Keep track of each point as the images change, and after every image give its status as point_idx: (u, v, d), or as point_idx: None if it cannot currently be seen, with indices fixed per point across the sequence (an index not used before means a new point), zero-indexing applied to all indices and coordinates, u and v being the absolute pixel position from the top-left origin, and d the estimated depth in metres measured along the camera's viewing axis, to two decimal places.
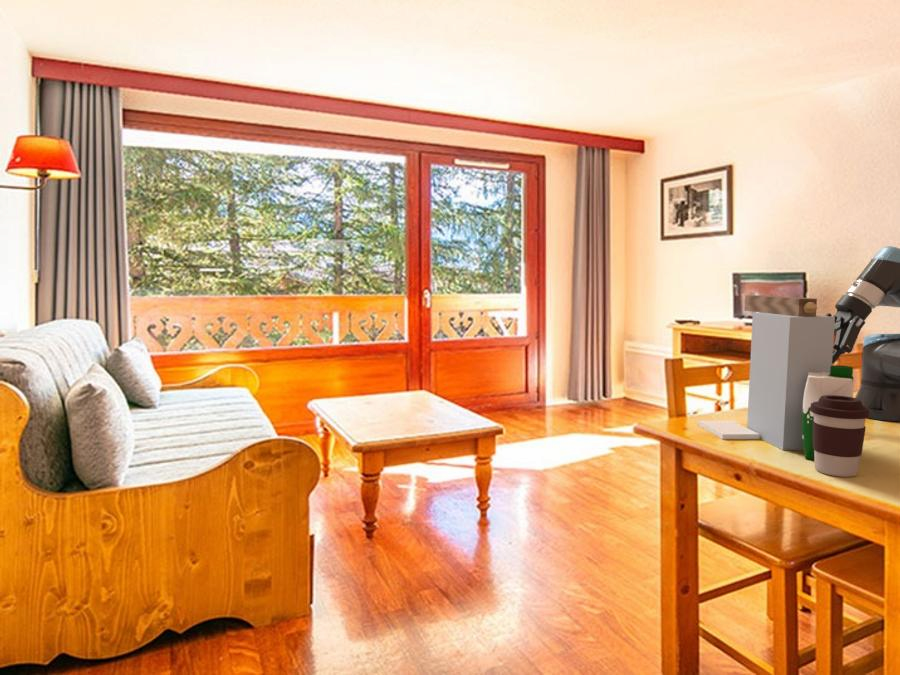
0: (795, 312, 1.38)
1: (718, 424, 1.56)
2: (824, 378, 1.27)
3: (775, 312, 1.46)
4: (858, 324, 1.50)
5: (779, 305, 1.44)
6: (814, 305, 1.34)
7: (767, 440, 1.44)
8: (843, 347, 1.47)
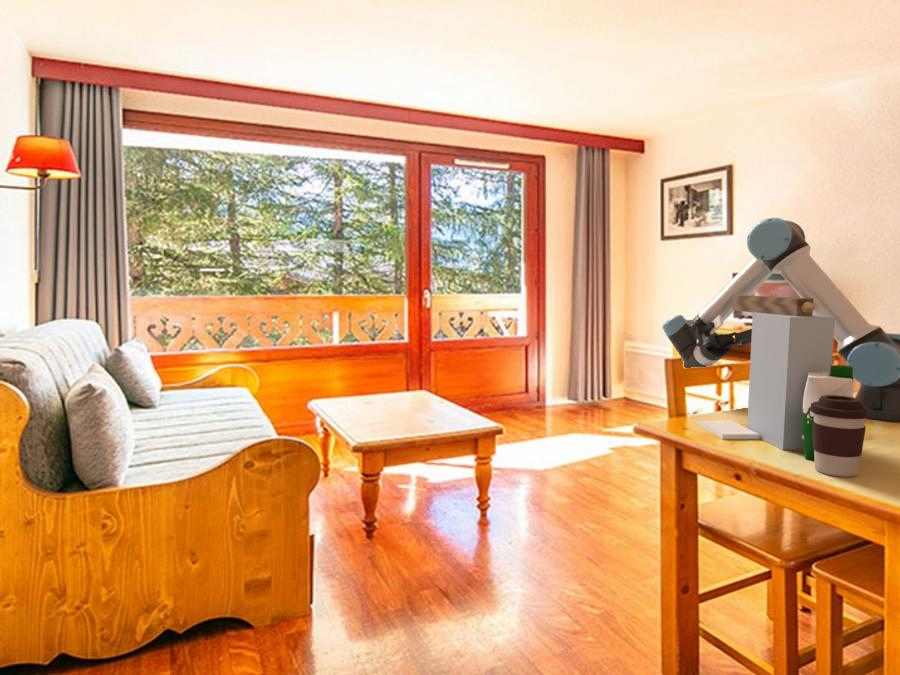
0: (792, 312, 1.38)
1: (718, 424, 1.56)
2: (824, 378, 1.27)
3: (769, 312, 1.46)
4: (698, 340, 1.78)
5: (774, 305, 1.45)
6: (812, 305, 1.35)
7: (767, 440, 1.44)
8: (698, 333, 1.71)
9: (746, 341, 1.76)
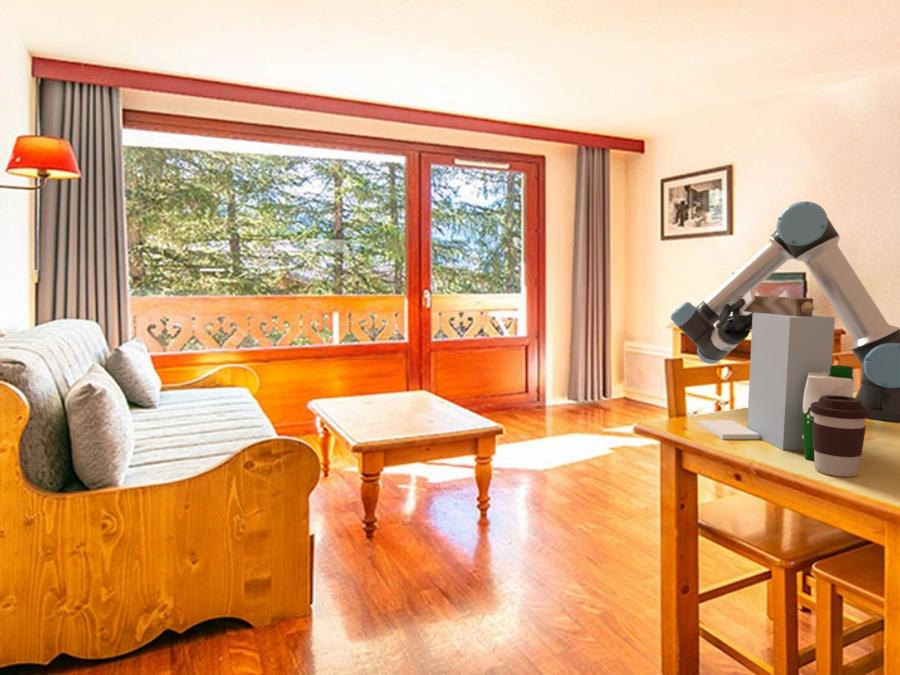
0: (792, 312, 1.38)
1: (718, 424, 1.56)
2: (824, 378, 1.27)
3: (769, 312, 1.46)
4: (718, 321, 1.65)
5: (774, 305, 1.45)
6: (812, 305, 1.35)
7: (767, 440, 1.44)
8: (727, 311, 1.58)
9: None
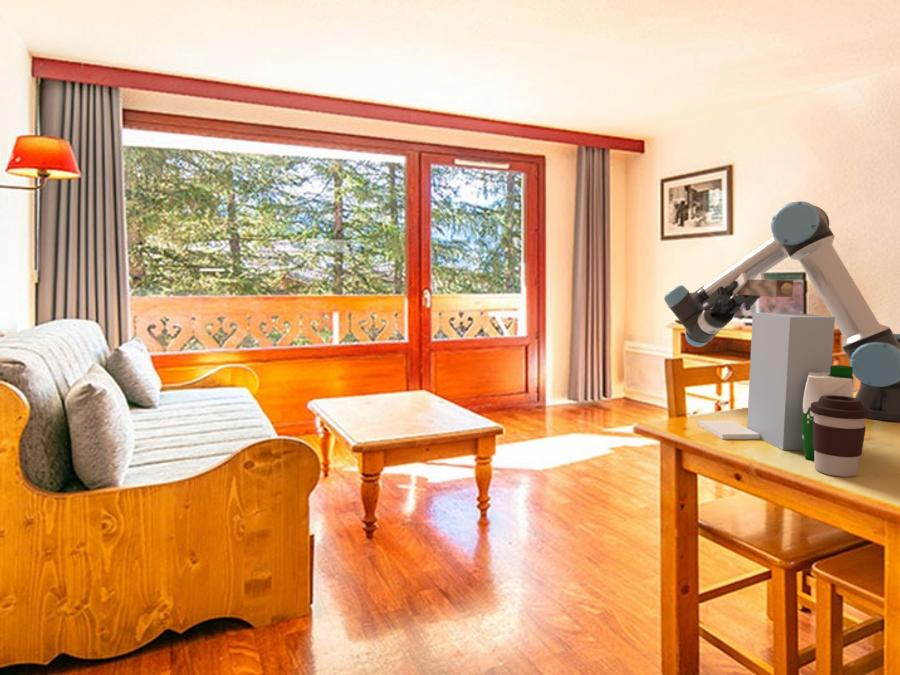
0: (773, 293, 1.47)
1: (718, 424, 1.56)
2: (824, 378, 1.27)
3: (755, 294, 1.55)
4: (706, 303, 1.73)
5: (759, 287, 1.53)
6: (790, 286, 1.43)
7: (767, 440, 1.44)
8: (721, 293, 1.66)
9: (747, 304, 1.72)
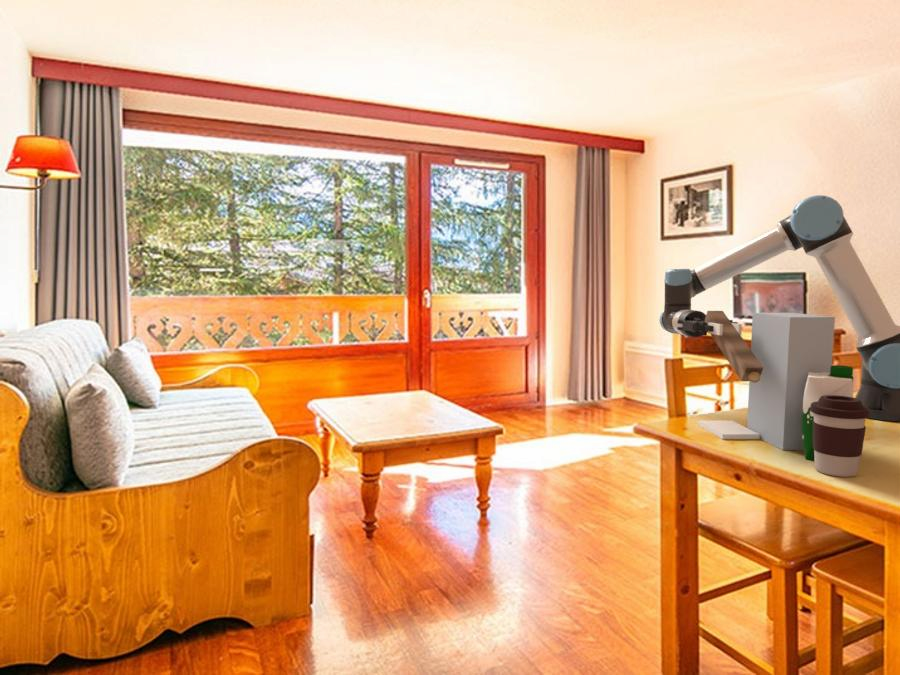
0: (740, 375, 1.42)
1: (718, 424, 1.56)
2: (824, 378, 1.27)
3: (725, 355, 1.49)
4: (681, 325, 1.65)
5: (730, 354, 1.46)
6: (758, 378, 1.38)
7: (767, 440, 1.44)
8: (696, 330, 1.58)
9: None
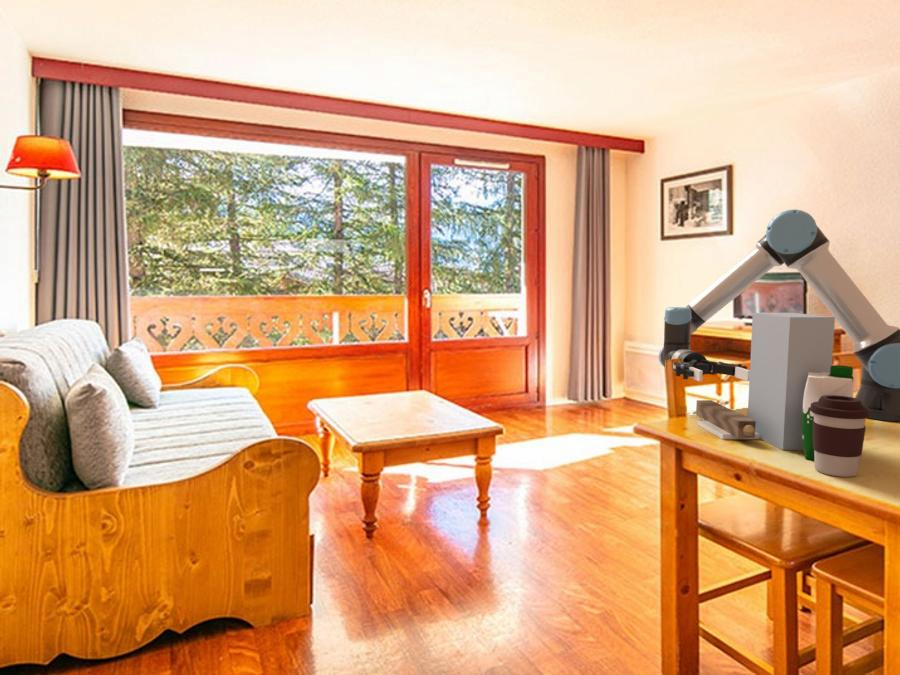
0: (735, 433, 1.44)
1: None
2: (824, 378, 1.27)
3: (720, 426, 1.52)
4: (675, 366, 1.68)
5: (723, 421, 1.51)
6: (752, 429, 1.41)
7: (767, 440, 1.44)
8: (676, 374, 1.61)
9: None
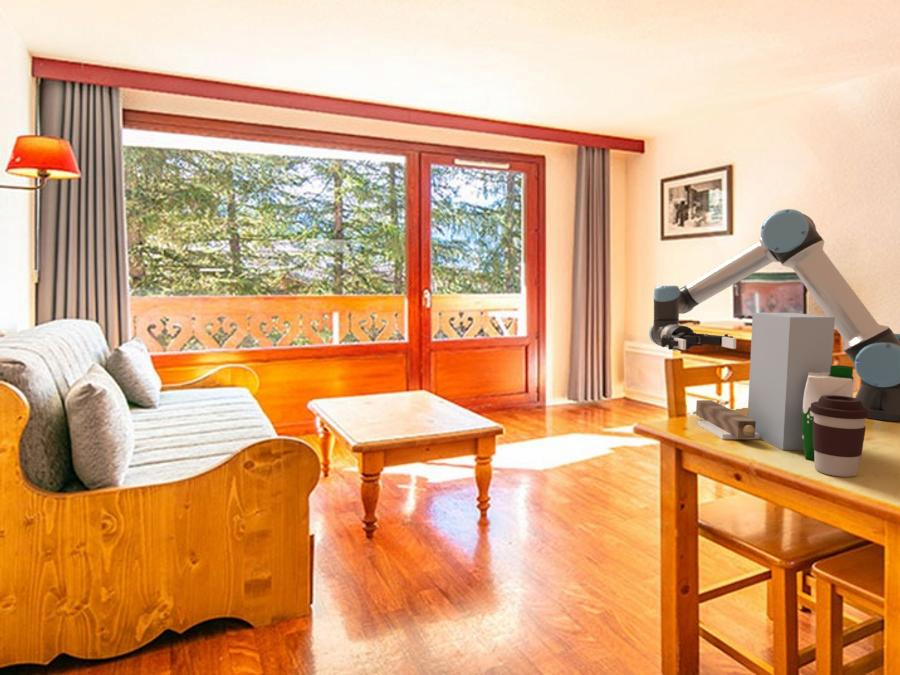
0: (735, 433, 1.44)
1: None
2: (824, 378, 1.27)
3: (720, 426, 1.52)
4: None
5: (723, 421, 1.51)
6: (752, 429, 1.41)
7: (767, 440, 1.44)
8: (662, 345, 1.71)
9: None
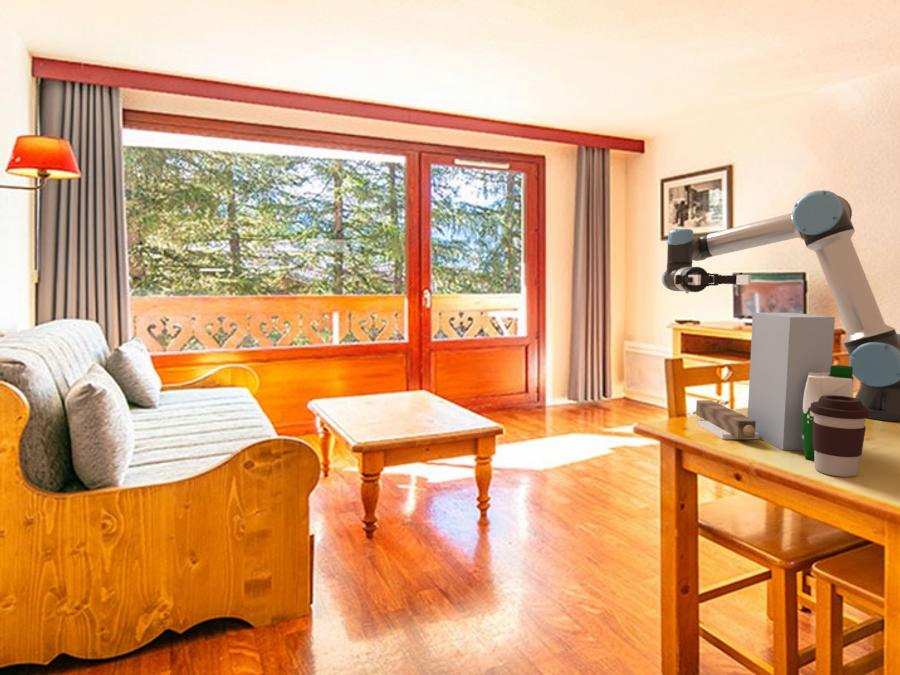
0: (735, 433, 1.44)
1: None
2: (824, 378, 1.27)
3: (720, 426, 1.52)
4: None
5: (723, 421, 1.51)
6: (752, 429, 1.41)
7: (767, 440, 1.44)
8: (676, 282, 1.71)
9: None
